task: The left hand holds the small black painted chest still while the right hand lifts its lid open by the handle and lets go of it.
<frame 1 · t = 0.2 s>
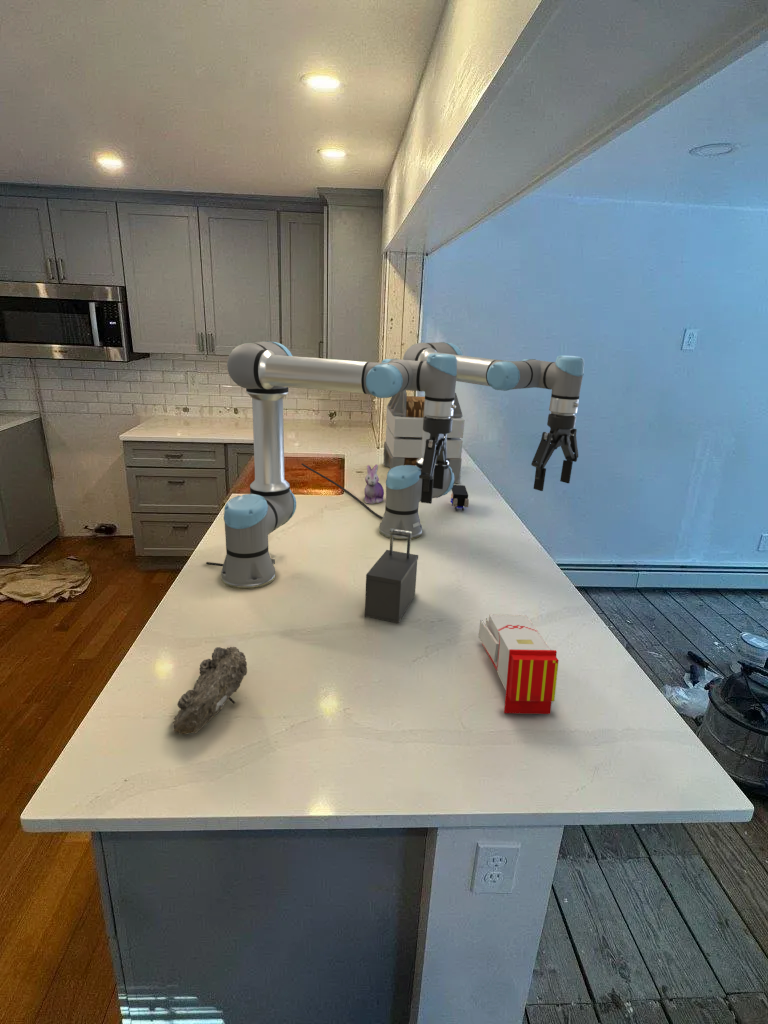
left hand: (432, 495, 152), 28 cm above the counter, tool pointing down, fingers open, 13 cm apart
right hand: (551, 486, 165), 28 cm above the counter, tool pointing down, fingers open, 13 cm apart
figurine: (373, 501, 233), on the counter
toy: (510, 673, 125), on the counter
chest: (390, 605, 152), on the counter
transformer: (419, 473, 275), on the counter
fossil: (216, 701, 112), on the counter
lid: (394, 553, 147), point 15 cm above the counter, hinge at 0.0°
figurine character: (458, 507, 230), on the counter
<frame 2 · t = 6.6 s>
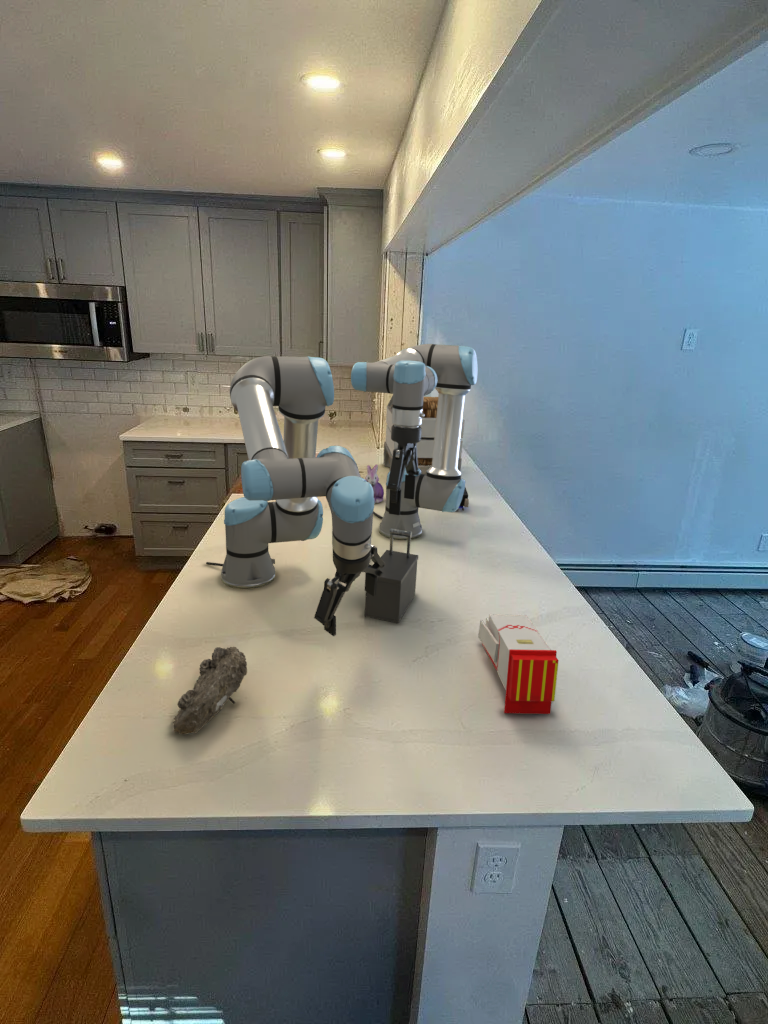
left hand: (350, 611, 124), 12 cm above the counter, tool tilted 25°, fingers open, 13 cm apart
right hand: (402, 506, 148), 26 cm above the counter, tool pointing down, fingers open, 13 cm apart
nothing on the counter moved.
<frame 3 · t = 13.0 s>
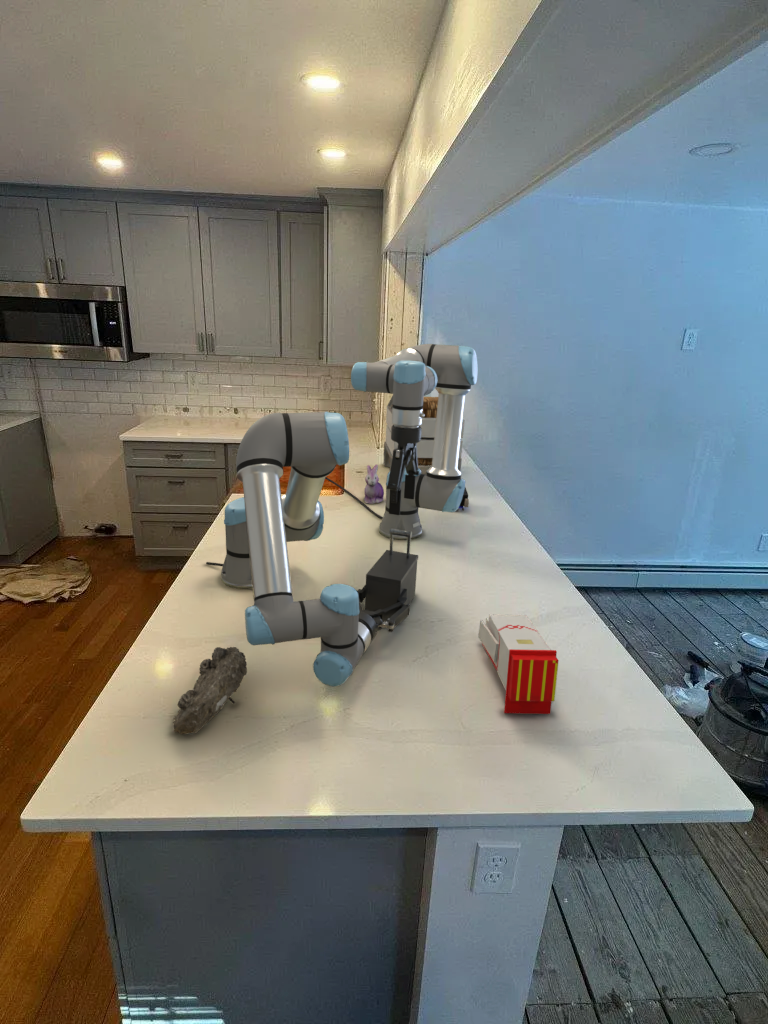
left hand: (386, 590, 145), 7 cm above the counter, tool horizontal, fingers closed on chest, 9 cm apart
right hand: (402, 506, 148), 26 cm above the counter, tool pointing down, fingers open, 13 cm apart
chest: (390, 605, 152), on the counter, touching left hand
everything else where it was.
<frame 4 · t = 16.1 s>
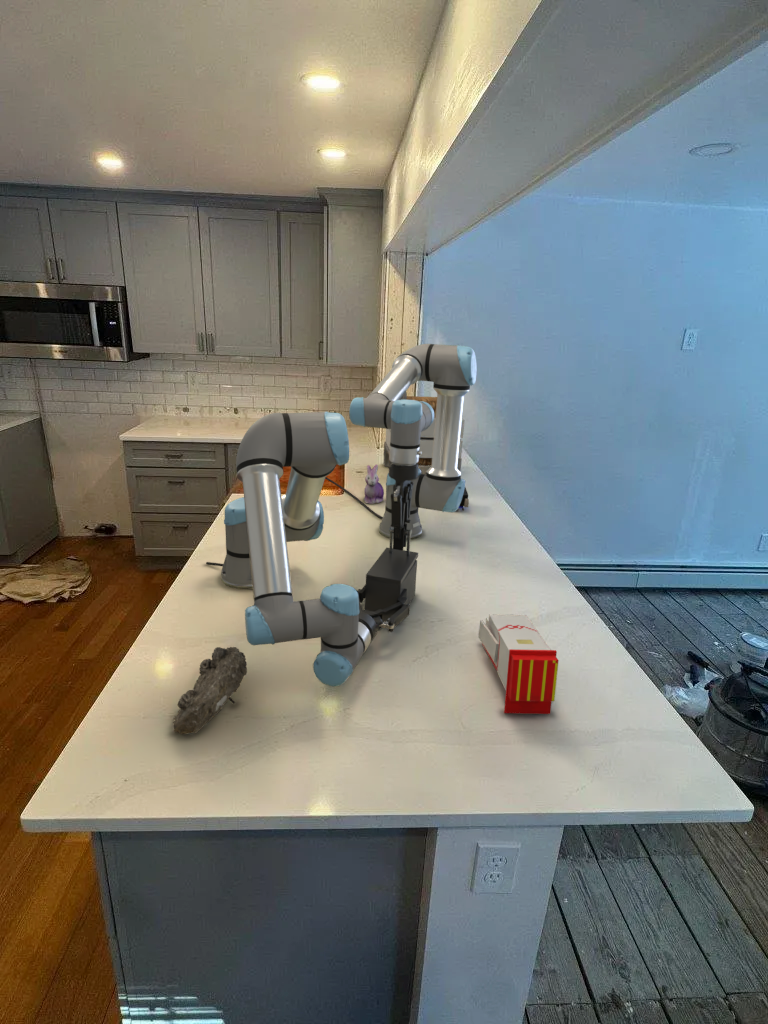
left hand: (386, 590, 145), 7 cm above the counter, tool horizontal, fingers closed on chest, 9 cm apart
right hand: (399, 547, 152), 15 cm above the counter, tool pointing down, fingers closed on lid, 2 cm apart
chest: (390, 605, 152), on the counter, touching left hand
lid: (393, 551, 147), point 16 cm above the counter, hinge at 2.5°, touching right hand
everything else where it was.
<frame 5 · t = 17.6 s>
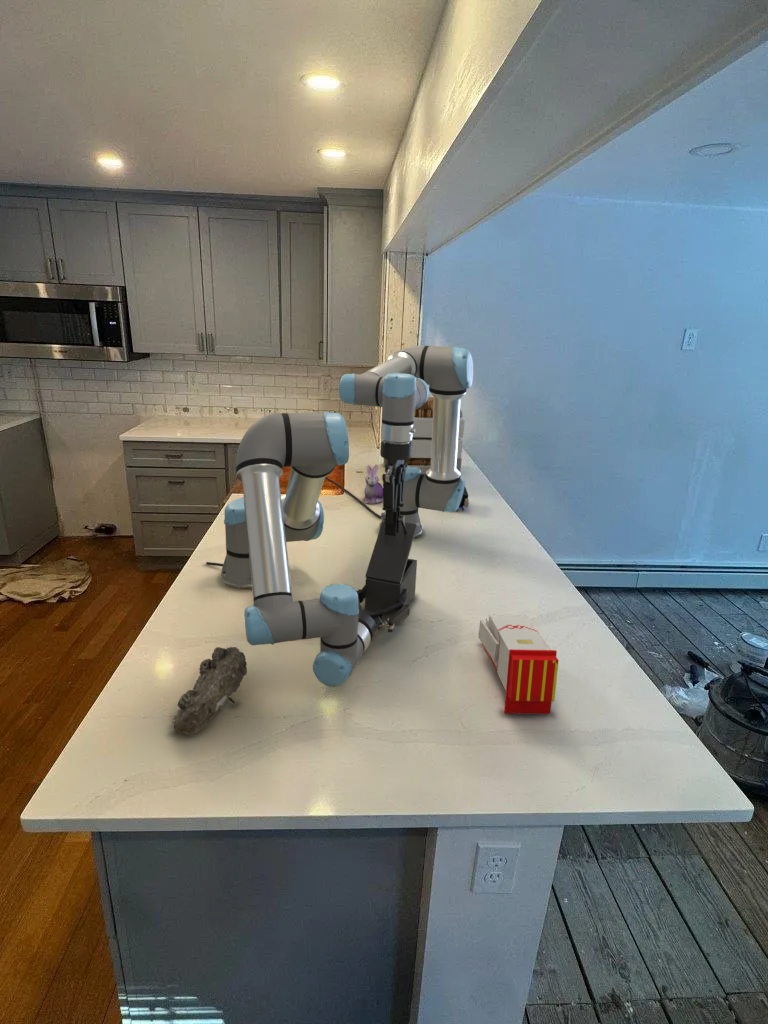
left hand: (386, 590, 145), 7 cm above the counter, tool horizontal, fingers closed on chest, 9 cm apart
right hand: (391, 533, 142), 22 cm above the counter, tool pointing down, fingers closed on lid, 2 cm apart
chest: (390, 605, 152), on the counter, touching left hand
lid: (389, 543, 141), point 20 cm above the counter, hinge at 39.0°, touching right hand
everything else where it was.
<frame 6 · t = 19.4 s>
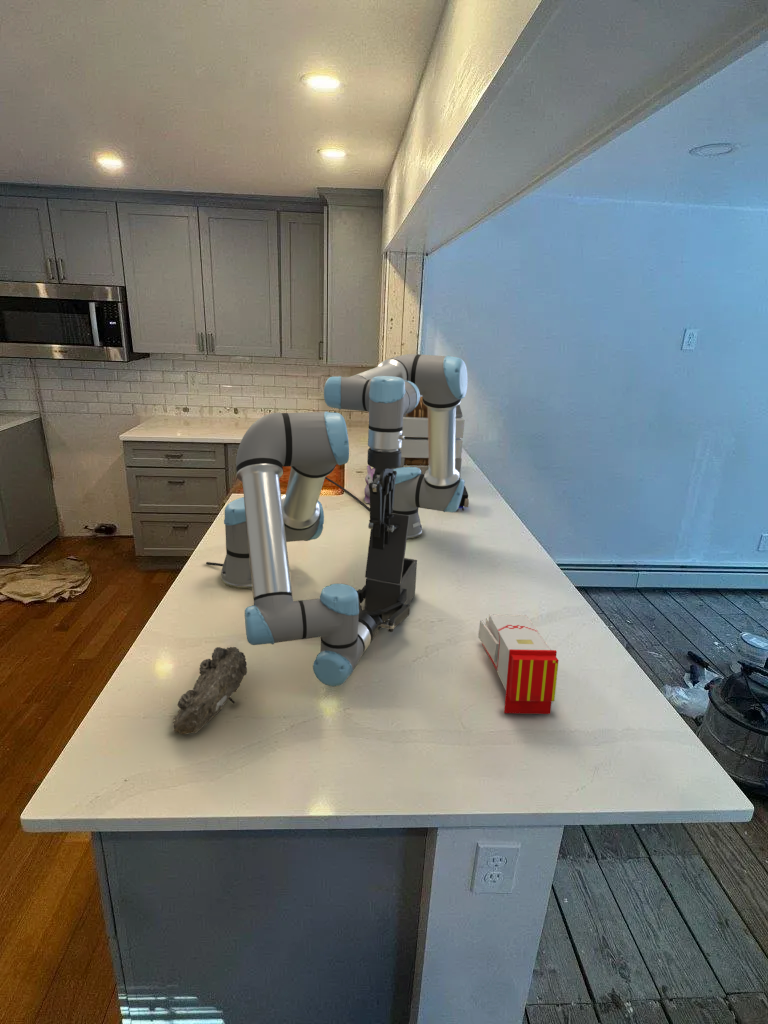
left hand: (386, 590, 145), 7 cm above the counter, tool horizontal, fingers closed on chest, 9 cm apart
right hand: (380, 545, 134), 22 cm above the counter, tool pointing down, fingers open, 3 cm apart
chest: (390, 605, 152), on the counter, touching left hand
lid: (382, 548, 136), point 20 cm above the counter, hinge at 73.6°
everything else where it was.
when the left hand's fingers open (7 cm above the counter, at t = 23.0 s): chest stays where it is, on the counter.
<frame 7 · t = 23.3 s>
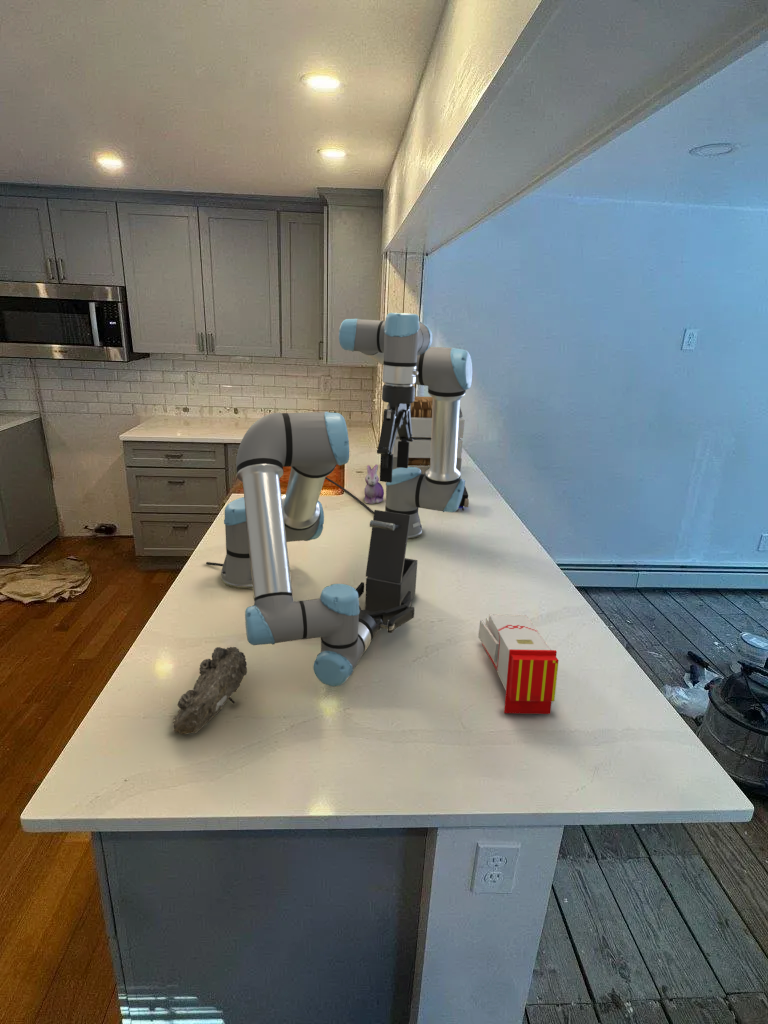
left hand: (385, 591, 145), 7 cm above the counter, tool horizontal, fingers open, 12 cm apart
right hand: (394, 474, 136), 37 cm above the counter, tool pointing down, fingers open, 13 cm apart
chest: (390, 605, 152), on the counter
lid: (383, 547, 137), point 21 cm above the counter, hinge at 72.5°
everything else where it was.
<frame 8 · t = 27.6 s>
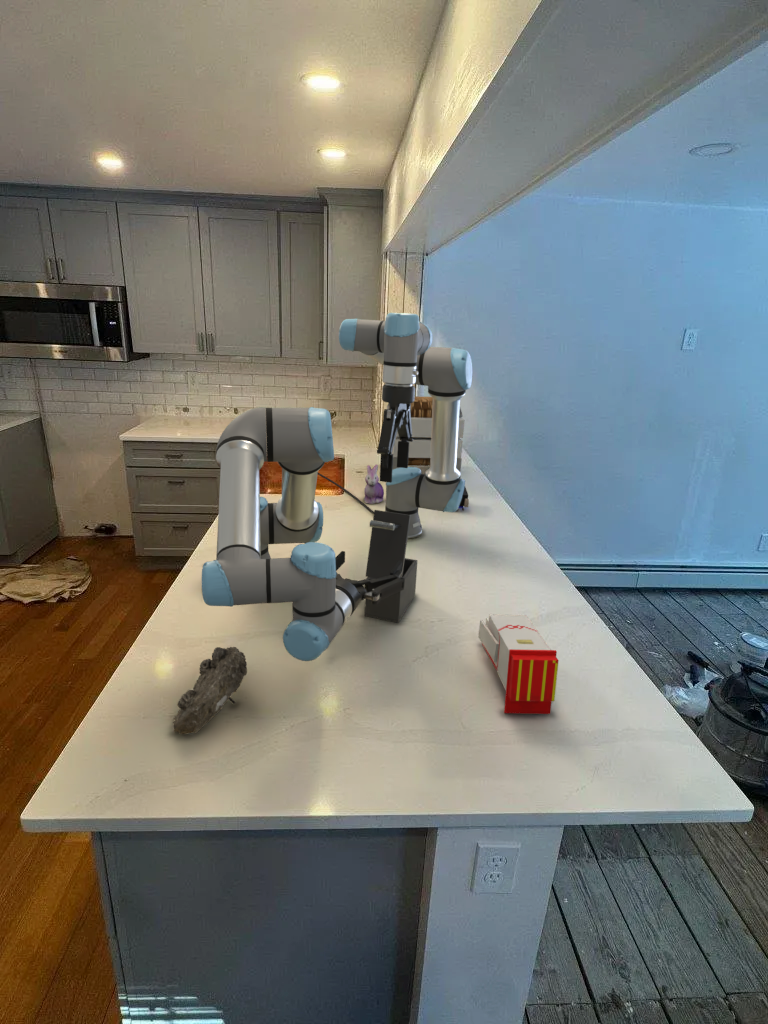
left hand: (371, 561, 129), 21 cm above the counter, tool horizontal, fingers open, 13 cm apart
right hand: (394, 474, 136), 37 cm above the counter, tool pointing down, fingers open, 13 cm apart
nothing on the counter moved.
at the end: lid at +72° (first picture: +0°); the left hand is holding nothing; the right hand is holding nothing; chest tilted 0°; chest never tilted more than 1° during the clip; chest moved 0.1 cm from its start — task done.
